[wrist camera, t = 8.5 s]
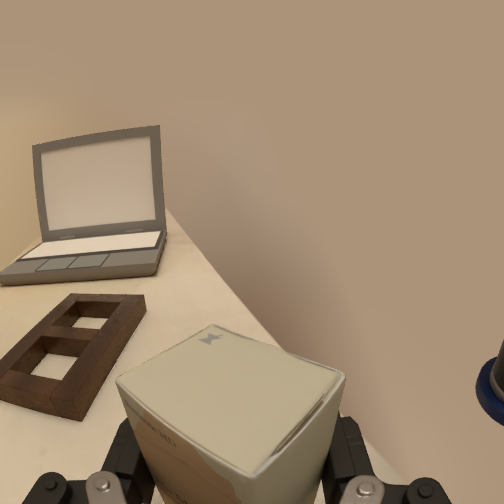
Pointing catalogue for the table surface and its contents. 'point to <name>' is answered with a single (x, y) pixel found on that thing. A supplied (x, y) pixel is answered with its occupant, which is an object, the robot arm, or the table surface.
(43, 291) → the table surface
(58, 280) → the laptop
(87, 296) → the socket pad
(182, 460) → the box
